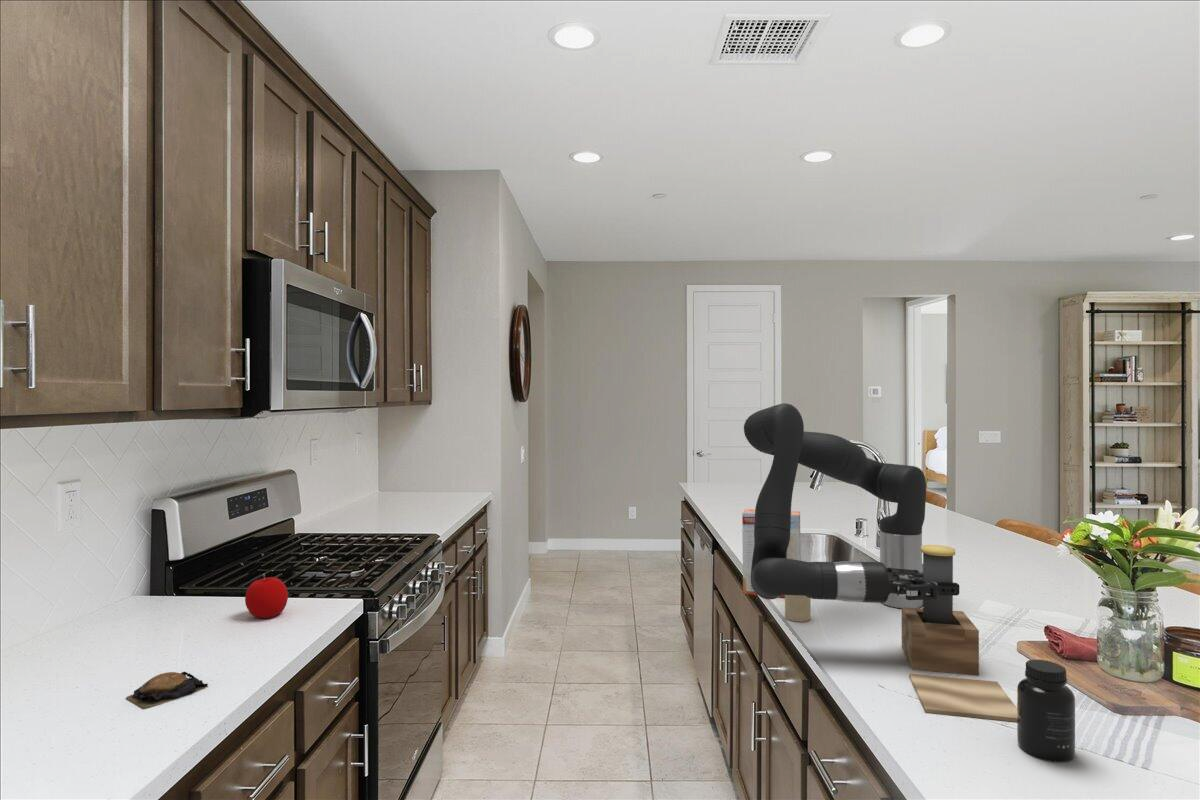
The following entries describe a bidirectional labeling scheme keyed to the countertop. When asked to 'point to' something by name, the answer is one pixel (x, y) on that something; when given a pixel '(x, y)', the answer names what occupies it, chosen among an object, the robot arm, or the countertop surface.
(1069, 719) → the supplement bottle
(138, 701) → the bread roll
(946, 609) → the plug
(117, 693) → the countertop surface
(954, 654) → the socket block
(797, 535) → the cracker box
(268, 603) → the fruit
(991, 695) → the cork mat
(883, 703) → the countertop surface
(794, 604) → the candle
